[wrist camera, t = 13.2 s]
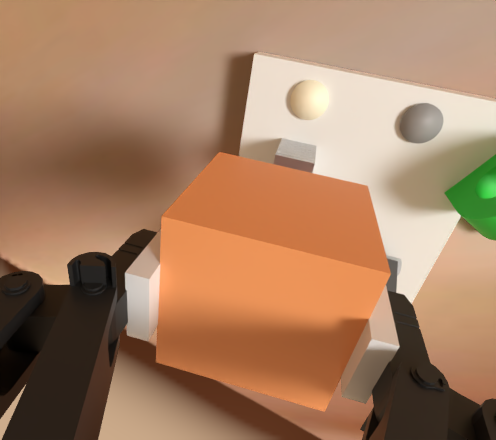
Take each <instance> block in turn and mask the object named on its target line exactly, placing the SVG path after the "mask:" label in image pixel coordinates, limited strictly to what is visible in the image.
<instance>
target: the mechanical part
mask: <svg viewBox="0 0 496 440" xmlns="http://www.w3.org/2000/svg"><path fill="white" fill-rule="evenodd" d="M445 195H446V196H447V198H448V199H449V201H450V202H451V204H452V205H453V207H454V208H455V210H456V211H457V212H458V213H459V214H460V215H461V216H462V217H463V218H464V219H465V220H466V221H467V222H468V223H469V224H471V225H472V226H473V227H474V228H475V229H476V230H477V231H478V232H479V233H480V234H482V235H483V236H484V237H486V238H488V239H491V240H496V154H495V155H494V156H493V157H491V158H490V159H489V160H487V161H486V162H485V163H483V164H482V165H481V166H479V167H478V168H477V169H475V170H474V171H473V172H471V173H470V174H469V175H467V176H466V177H465V178H463V179H462V180H461V181H459V182H458V183H457V184H455V185H454V186H453V187H451V188H450V189H449V190H447V191H446V192H445Z"/></svg>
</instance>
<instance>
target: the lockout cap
mask: <svg viewBox="0 0 496 440" xmlns="http://www.w3.org/2000/svg"><path fill="white" fill-rule="evenodd" d="M390 275H391V272H390V268H389V264H388V261H387V257H386V253H385V249H384V245H383V242H382V238H381V234H380V230H379V226H378V223H377V219H376V215H375V211H374V207H373V204H372V200H371V196H370V192H369V189H368V186H367V185H362V184H358V183H354V182H349V181H345V180H340V179H336V178H332V177H327V176H323V175H319V174H314V173H310V172H305V171H301V170H297V169H292V168H288V167H284V166H279V165H275V164H270V163H266V162H262V161H257V160H253V159H249V158H244V157H240V156H235V155H231V154H227V153H222V152H219V153H218V154H217V155H216V156H215V157H214V158H213V160H212V161H211V162H210V163H209V164H208V165H207V166H206V167H205V168H204V170H203V171H202V172H201V173H200V174H199V175H198V176H197V177H196V178H195V180H194V181H193V182H192V183H191V184H190V185H189V186H188V187H187V188H186V190H185V191H184V192H183V193H182V194H181V195H180V196H179V197H178V198H177V200H176V201H175V202H174V203H173V204H172V205H171V206H170V207H169V209H168V210H167V211H166V212H165V213H164V214H163V215H162V218H161V244H160V286H159V310H158V326H157V347H156V362H157V363H161V364H164V365H168V366H171V367H175V368H178V369H181V370H184V371H188V372H192V373H195V374H198V375H201V376H205V377H208V378H212V379H215V380H218V381H222V382H225V383H229V384H232V385H236V386H239V387H242V388H246V389H249V390H253V391H256V392H259V393H263V394H266V395H270V396H273V397H276V398H280V399H283V400H287V401H290V402H293V403H297V404H300V405H304V406H307V407H310V408H314V409H317V410H321V411H324V412H325V410H326V408H327V406H328V404H329V401H330V399H331V397H332V395H333V393H334V391H335V389H336V387H337V385H338V383H339V381H340V379H341V376H342V374H343V371H344V369H345V367H346V365H347V363H348V361H349V359H350V357H351V355H352V353H353V351H354V349H355V347H356V344H357V342H358V340H359V338H360V336H361V334H362V332H363V330H364V328H365V326H366V324H367V322H368V320H369V318H370V316H371V314H372V312H373V310H374V308H375V306H376V304H377V302H378V300H379V298H380V296H381V294H382V291H383V289H384V287H385V285H386V283H387V281H388V279H389V277H390Z"/></svg>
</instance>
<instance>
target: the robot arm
mask: <svg viewBox="0 0 496 440" xmlns="http://www.w3.org/2000/svg"><path fill="white" fill-rule="evenodd" d="M160 244H161V229H160V231H159V232H158V233H157V232H153V231H149V230H145V229H143V230H141V231H139V232H136V233H134V234H132V235H131V236H130V237H129V238H128V240H127V241H126V242H125V244H123V245H122V246H121V247H120V248H119V250H118V251H116V252H115V253H114V255H113V256H110V255H108V254H106V253H101V252H88V253H85V254H81V255H78V256H77V257H75V258H73V259H72V260H71V261H70V262H69V263H68V264H67V267H68V274H69V280H70V285H44V284H43V279H42V278H41V277H40V275H39V274H36V273H34V272H29V271H20V272H14V273H11V274H8V275H5V276H2V277H1V278H0V419H1V417H2V416H3V415H4V413H5V412H6V410H7V409H8V408H9V406H10V405H11V403H12V402H13V401H14V399H15V398H16V397H17V395H18V394H19V393H20V391H21V390H22V389H23V387H24V386H25V385H26V386H25V389H24V391H23V393H22V395H21V398H20V400H19V402H18V404H17V406H16V409H15V411H14V413H13V416H12V418H11V420H10V422H9V424H8V427H7V429H6V431H5V434H4V435H3V438H2V440H98V437H99V433H100V428H101V424H102V420H103V415H104V411H105V406H106V402H107V398H108V393H109V388H110V384H111V380H112V376H113V371H114V367H115V363H116V358H117V354H118V349H119V345H120V337H119V335H120V333H121V332H122V330H123V329H124V327H125V326H126V325H127V335H128V336H132V337H135V338H138V339H142V340H145V341H149V340H150V338H151V336H152V334H153V333H154V331H155V329H156V327H157V326H158V310H159V286H160ZM416 318H417V317H416V314H415V311H414V308H413V305H412V304H411V303H410V301H409V300H408V299H407V298H406V296H405V295H403V294H400V293H396V292H392V291H388V290H387V287H386V285H385V287H384V289H383V291H382V294H381V296H380V298H379V300H378V302H377V304H376V306H375V308H374V310H373V312H372V314H371V316H370V318H369V320H368V322H367V324H366V326H365V328H364V330H363V332H362V334H361V336H360V338H359V340H358V342H357V344H356V347H355V349H354V351H353V353H352V355H351V357H350V359H349V361H348V363H347V365H346V367H345V369H344V371H343V374H342V376H341V392H342V397H344V398H348V399H351V400H355V401H358V402H362V403H365V404H366V403H367V401H368V399H369V397H370V396H371V394H372V395H373V404H374V408H373V409H372V411H371V412H370V414H369V416H368V417H367V419H366V421H365V422H364V424H363V425H362V427H361V429H360V430H362V431H364V430H365V431H364V434H363V438H362V440H496V399H489V400H485V401H484V403H483V404H482V405H479V404H477V403H475V402H473V401H472V400H470V399H468V398H466V397H464V396H462V395H460V394H459V393H457V392H455V391H454V390H452V389H451V388H449V385H448V382H447V380H446V379H445V377H444V375H443V374H442V373H441V372H440V371H439V370H438V369H437V368H436V367H435V366H434V365H432V364H431V363H430V360H429V357H428V354H427V350H426V347H425V344H424V340H423V337H422V334H421V331H420V329H419V324H418V321H417V320H416ZM26 383H27V384H26Z"/></svg>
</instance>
